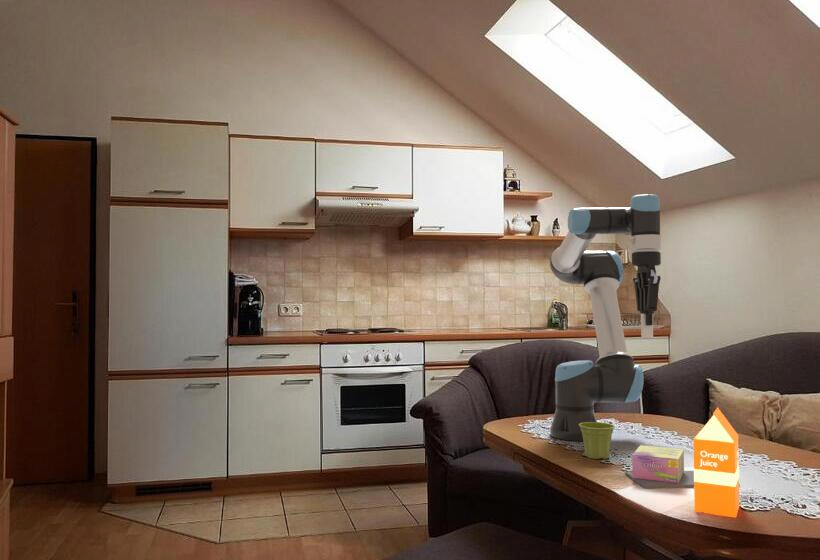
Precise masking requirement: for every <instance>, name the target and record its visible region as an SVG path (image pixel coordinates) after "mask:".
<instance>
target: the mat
mask: <svg viewBox="0 0 820 560" xmlns="http://www.w3.org/2000/svg"><path fill="white" fill-rule="evenodd" d="M624 472H625V473H624V475H626V476H627V477H629V478H630V479H631V480H633V481H634V482H636V483H637V484H638V483H639V485H640V486H641V487H643V488H644V489H669V488H671V489H674V488H675V489H677V488H679V489H680V488H694V470H684V473H683V475H682V477H681V479H680V481H679V484H677V483H669V482H661V481H653V480H645V479H636V478H632V471H624ZM740 486H741V485H740V483H739V488H740Z"/></svg>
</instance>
